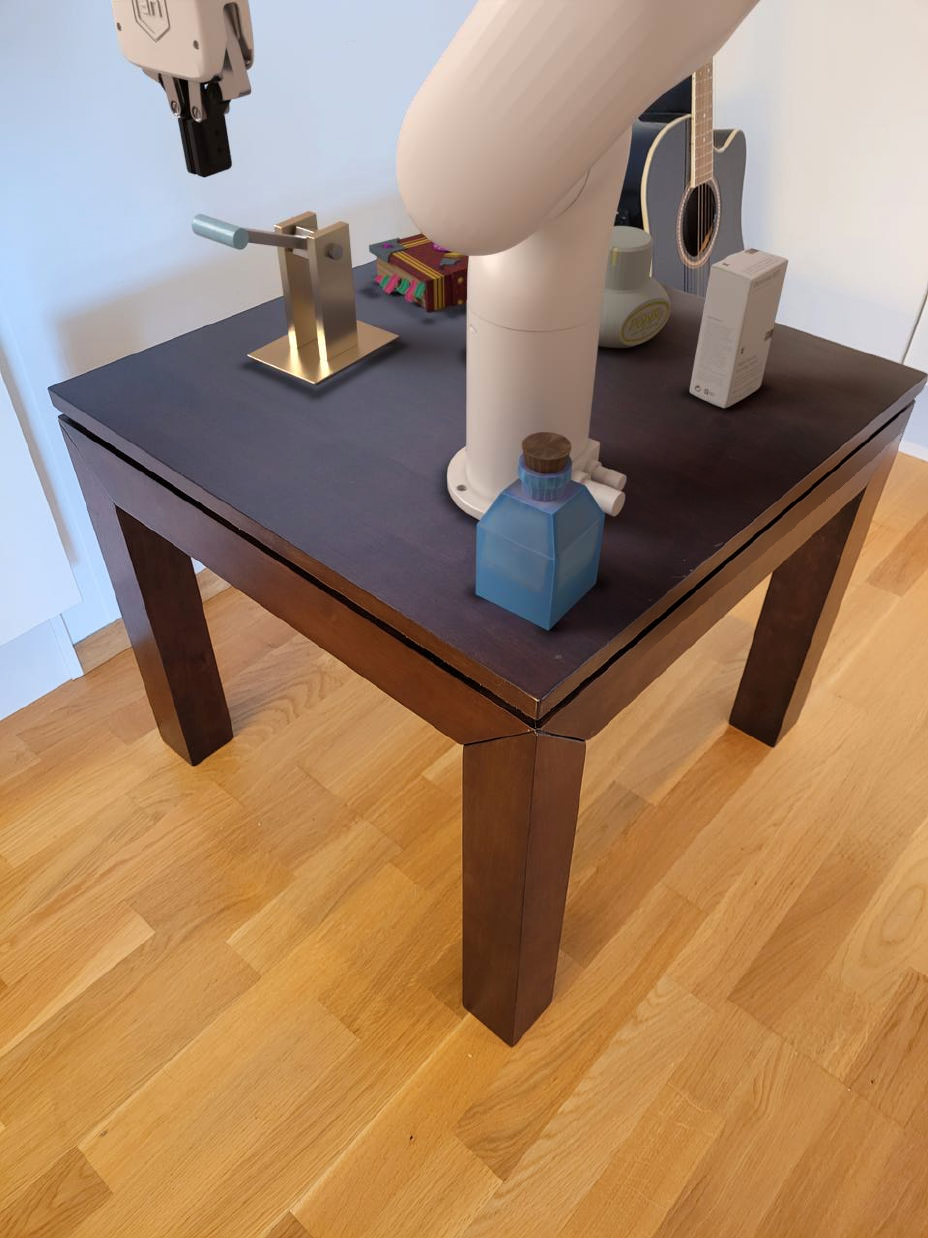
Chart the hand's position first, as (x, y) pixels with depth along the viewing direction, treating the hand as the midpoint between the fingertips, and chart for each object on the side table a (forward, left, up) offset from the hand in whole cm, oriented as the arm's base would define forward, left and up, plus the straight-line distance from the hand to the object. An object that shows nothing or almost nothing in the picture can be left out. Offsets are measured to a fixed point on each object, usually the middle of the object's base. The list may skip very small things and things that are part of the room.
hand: (210, 170), depth 74 cm
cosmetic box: (-34, -28, -20) cm, 48 cm away
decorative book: (0, -30, -20) cm, 36 cm away
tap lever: (0, -5, -8) cm, 9 cm away
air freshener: (-20, -31, -20) cm, 42 cm away
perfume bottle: (-36, +6, -20) cm, 42 cm away
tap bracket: (0, -10, -20) cm, 22 cm away
